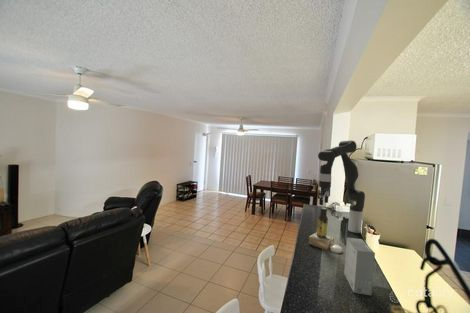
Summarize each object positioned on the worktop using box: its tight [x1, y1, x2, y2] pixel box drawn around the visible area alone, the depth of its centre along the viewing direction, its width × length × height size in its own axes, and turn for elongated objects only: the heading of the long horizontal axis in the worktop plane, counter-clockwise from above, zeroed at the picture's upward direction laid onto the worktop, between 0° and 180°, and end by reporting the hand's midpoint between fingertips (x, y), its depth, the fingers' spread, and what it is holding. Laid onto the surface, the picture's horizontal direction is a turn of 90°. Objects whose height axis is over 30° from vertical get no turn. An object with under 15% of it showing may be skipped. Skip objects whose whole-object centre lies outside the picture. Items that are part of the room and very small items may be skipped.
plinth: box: [308, 231, 335, 251], centre depth 145 cm, size 12×12×5 cm
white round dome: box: [329, 244, 343, 254], centre depth 137 cm, size 7×7×2 cm
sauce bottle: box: [316, 206, 329, 238], centre depth 144 cm, size 6×6×20 cm
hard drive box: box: [343, 237, 376, 296], centre depth 103 cm, size 16×8×20 cm, turn 168°
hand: (323, 203), depth 144 cm, fingers open, 8 cm apart
